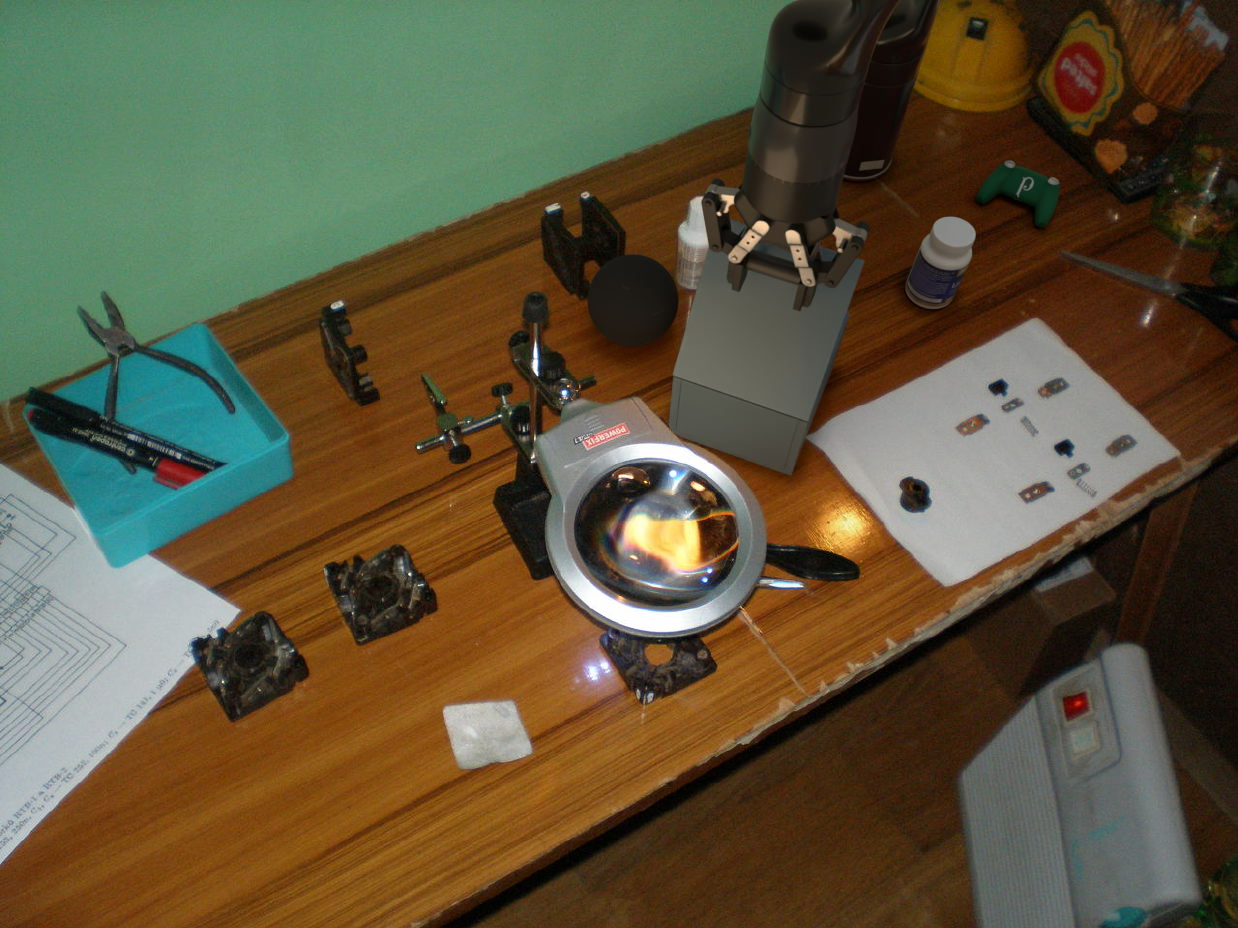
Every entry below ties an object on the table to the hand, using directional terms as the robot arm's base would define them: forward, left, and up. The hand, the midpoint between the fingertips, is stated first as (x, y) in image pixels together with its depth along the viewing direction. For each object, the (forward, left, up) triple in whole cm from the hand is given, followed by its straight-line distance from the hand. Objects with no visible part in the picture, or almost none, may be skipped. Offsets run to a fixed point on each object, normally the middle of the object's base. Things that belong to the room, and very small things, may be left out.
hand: (768, 293), depth 87 cm
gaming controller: (0, +50, -21) cm, 54 cm away
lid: (0, +1, -4) cm, 5 cm away
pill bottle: (+2, +30, -21) cm, 37 cm away
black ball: (-17, 0, -21) cm, 27 cm away
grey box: (-1, +3, -21) cm, 21 cm away
